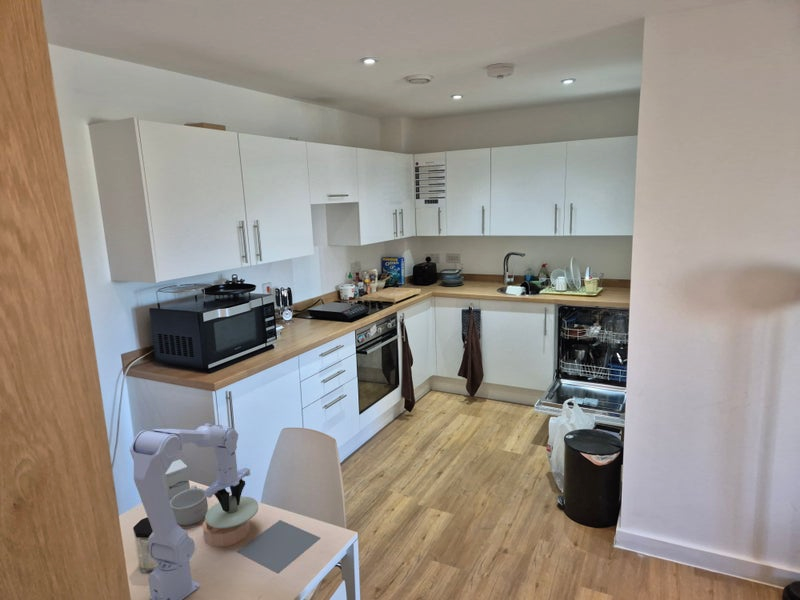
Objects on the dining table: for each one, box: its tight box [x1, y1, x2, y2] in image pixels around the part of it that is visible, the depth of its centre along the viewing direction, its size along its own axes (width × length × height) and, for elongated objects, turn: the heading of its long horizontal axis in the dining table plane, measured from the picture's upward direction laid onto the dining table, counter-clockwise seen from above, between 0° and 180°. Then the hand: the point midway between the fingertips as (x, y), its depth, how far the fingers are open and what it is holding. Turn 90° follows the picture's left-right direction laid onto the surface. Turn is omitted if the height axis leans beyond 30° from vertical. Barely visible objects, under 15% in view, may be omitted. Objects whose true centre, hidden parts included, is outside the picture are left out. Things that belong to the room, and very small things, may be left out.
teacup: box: [170, 485, 209, 527], centre depth 164 cm, size 14×11×8 cm
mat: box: [235, 519, 321, 574], centre depth 149 cm, size 17×17×1 cm
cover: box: [204, 494, 259, 528], centre depth 153 cm, size 15×15×5 cm
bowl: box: [202, 519, 251, 548], centre depth 155 cm, size 13×13×4 cm
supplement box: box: [161, 459, 191, 501], centre depth 173 cm, size 7×7×13 cm
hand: (231, 507), depth 153 cm, fingers closed on cover, 3 cm apart
